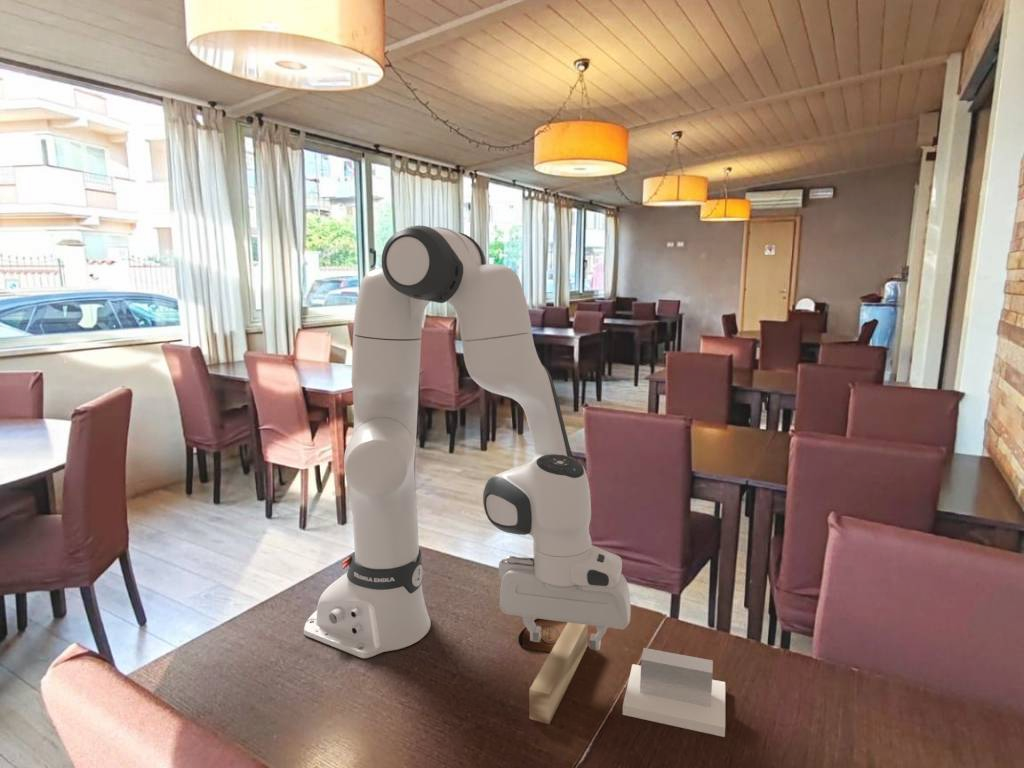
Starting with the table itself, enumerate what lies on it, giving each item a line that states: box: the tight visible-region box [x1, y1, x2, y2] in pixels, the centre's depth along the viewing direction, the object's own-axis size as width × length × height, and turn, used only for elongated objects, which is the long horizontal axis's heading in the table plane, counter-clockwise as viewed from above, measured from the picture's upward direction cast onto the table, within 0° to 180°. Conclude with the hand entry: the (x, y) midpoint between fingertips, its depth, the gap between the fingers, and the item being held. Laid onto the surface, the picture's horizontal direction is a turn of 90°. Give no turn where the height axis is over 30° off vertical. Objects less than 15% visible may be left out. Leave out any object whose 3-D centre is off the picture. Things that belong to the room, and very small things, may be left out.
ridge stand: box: [622, 647, 726, 738], centre depth 91 cm, size 14×10×7 cm
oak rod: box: [528, 622, 589, 725], centre depth 97 cm, size 3×20×5 cm, turn 158°
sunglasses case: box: [517, 618, 568, 653], centre depth 113 cm, size 18×7×7 cm
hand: (565, 643), depth 97 cm, fingers open, 8 cm apart
